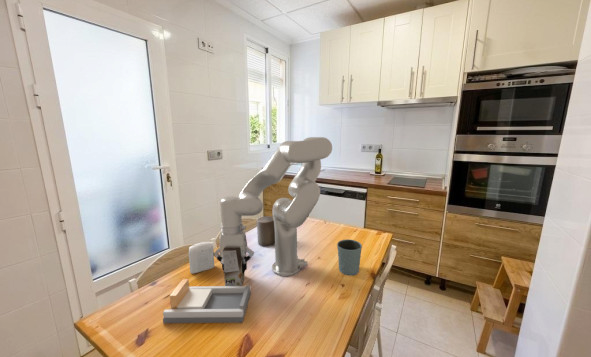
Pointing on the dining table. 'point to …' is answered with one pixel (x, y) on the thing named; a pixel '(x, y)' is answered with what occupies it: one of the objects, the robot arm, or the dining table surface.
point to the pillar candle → (266, 231)
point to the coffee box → (233, 267)
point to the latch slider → (189, 297)
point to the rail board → (214, 307)
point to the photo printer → (201, 257)
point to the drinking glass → (349, 256)
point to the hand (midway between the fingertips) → (234, 271)
